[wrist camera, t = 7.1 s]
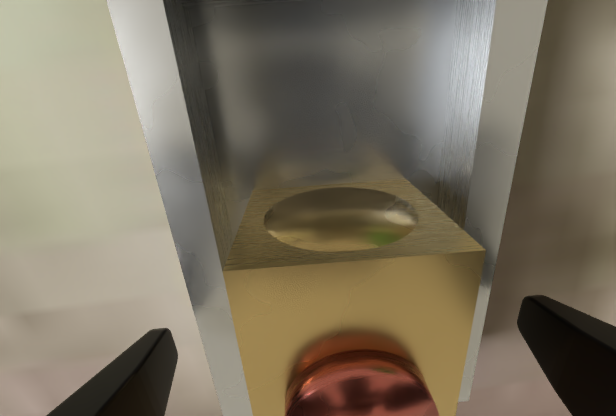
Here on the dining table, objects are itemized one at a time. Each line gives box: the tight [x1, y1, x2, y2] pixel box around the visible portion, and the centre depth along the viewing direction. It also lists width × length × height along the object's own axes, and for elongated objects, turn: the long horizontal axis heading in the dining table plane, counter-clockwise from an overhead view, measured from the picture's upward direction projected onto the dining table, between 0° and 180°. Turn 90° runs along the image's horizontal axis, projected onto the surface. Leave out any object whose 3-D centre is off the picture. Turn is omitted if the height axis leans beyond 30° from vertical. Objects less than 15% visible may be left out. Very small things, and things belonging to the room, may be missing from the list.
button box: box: [223, 179, 486, 416], centre depth 8 cm, size 7×4×5 cm, turn 4°
